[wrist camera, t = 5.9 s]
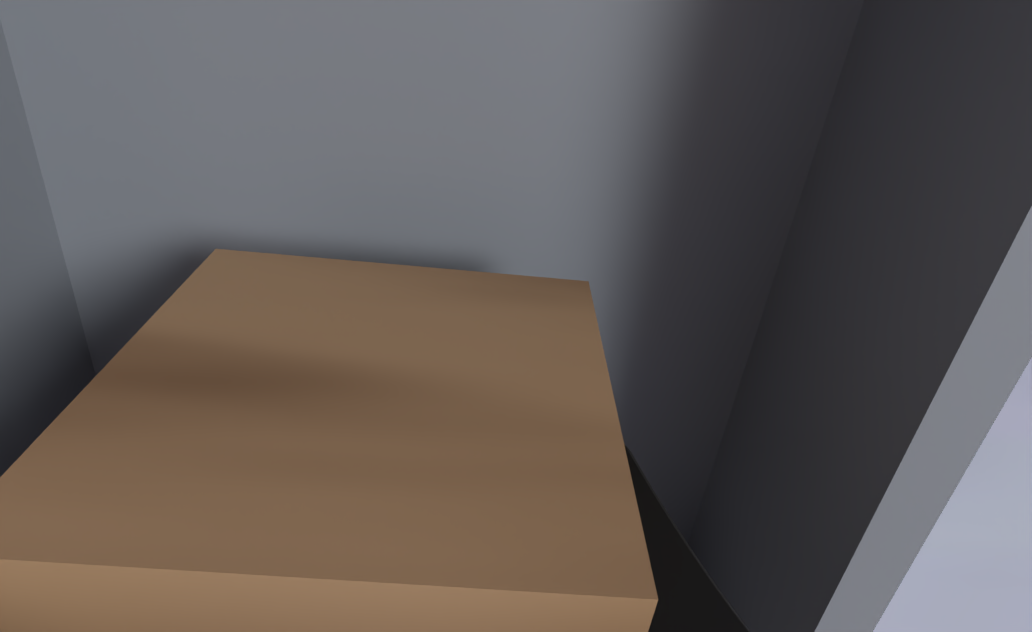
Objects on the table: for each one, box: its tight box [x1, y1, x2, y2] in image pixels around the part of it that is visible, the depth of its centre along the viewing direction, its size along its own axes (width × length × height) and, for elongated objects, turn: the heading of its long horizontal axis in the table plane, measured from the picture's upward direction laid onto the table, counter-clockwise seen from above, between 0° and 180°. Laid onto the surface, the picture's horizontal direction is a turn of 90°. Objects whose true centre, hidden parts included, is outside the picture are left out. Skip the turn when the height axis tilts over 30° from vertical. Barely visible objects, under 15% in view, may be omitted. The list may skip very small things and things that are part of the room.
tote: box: [0, 0, 1032, 632], centre depth 9 cm, size 18×14×5 cm
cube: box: [0, 249, 658, 632], centre depth 8 cm, size 5×5×5 cm
